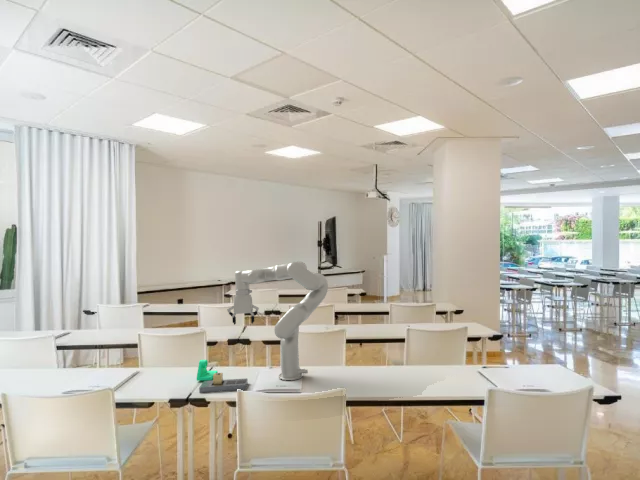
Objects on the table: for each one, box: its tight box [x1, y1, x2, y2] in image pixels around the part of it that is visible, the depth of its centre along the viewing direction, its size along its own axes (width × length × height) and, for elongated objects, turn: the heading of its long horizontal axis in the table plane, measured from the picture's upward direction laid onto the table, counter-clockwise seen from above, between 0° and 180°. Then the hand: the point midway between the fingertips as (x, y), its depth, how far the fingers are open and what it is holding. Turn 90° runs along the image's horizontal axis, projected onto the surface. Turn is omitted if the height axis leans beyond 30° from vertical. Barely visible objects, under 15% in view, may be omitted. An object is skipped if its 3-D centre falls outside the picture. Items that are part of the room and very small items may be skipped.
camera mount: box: [196, 359, 218, 381], centre depth 210 cm, size 12×8×10 cm, turn 178°
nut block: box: [213, 372, 224, 385], centre depth 194 cm, size 4×4×7 cm
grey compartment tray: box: [198, 377, 249, 394], centre depth 194 cm, size 22×10×3 cm, turn 94°
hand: (243, 323), depth 214 cm, fingers open, 9 cm apart
